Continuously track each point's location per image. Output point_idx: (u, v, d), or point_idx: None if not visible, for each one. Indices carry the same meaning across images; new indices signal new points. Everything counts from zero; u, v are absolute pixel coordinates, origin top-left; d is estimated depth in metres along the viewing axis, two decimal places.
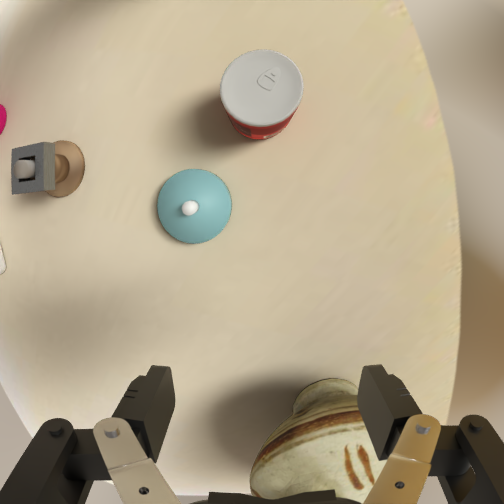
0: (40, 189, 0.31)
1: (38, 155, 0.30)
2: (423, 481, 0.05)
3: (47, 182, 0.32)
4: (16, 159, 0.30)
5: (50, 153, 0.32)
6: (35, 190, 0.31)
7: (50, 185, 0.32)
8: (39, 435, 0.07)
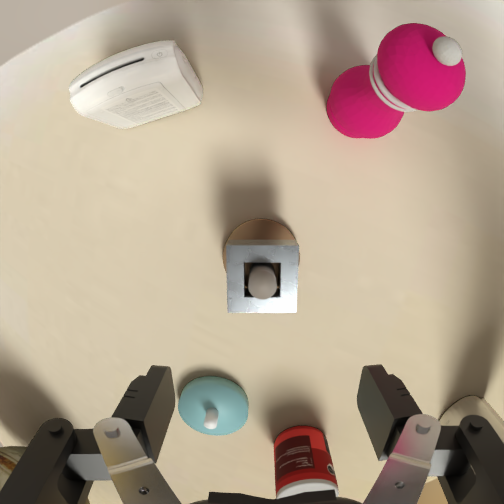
0: (229, 306, 0.27)
1: (278, 303, 0.27)
2: (423, 481, 0.05)
3: None
4: (280, 257, 0.26)
5: None
6: (228, 297, 0.27)
7: None
8: (39, 435, 0.07)
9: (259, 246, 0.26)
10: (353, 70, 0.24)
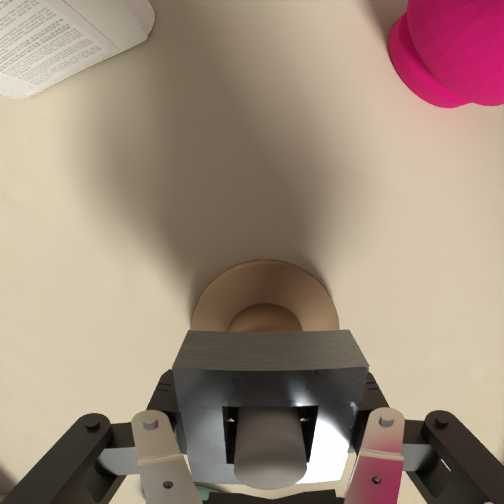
0: (196, 474, 0.10)
1: None
2: (399, 473, 0.06)
3: None
4: (318, 395, 0.09)
5: None
6: (192, 461, 0.10)
7: None
8: (74, 428, 0.08)
9: (263, 373, 0.09)
10: None
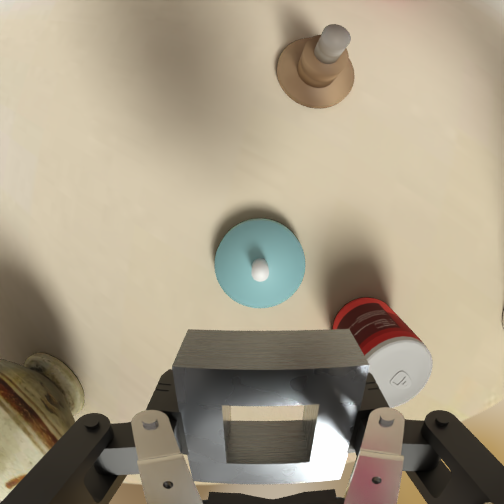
0: (196, 473, 0.10)
1: (304, 471, 0.10)
2: (399, 473, 0.06)
3: None
4: (318, 394, 0.09)
5: None
6: (192, 461, 0.10)
7: None
8: (74, 428, 0.08)
9: (263, 372, 0.09)
10: None
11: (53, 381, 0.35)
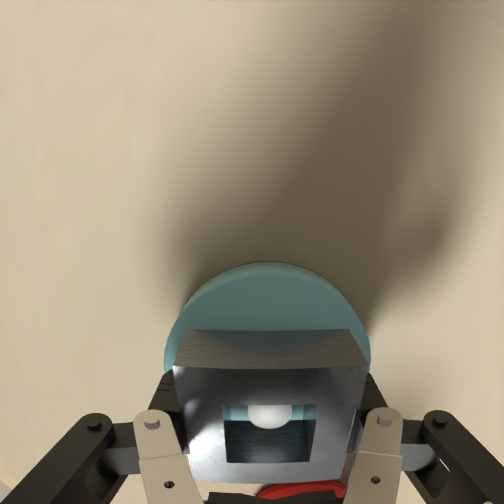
0: (196, 472, 0.10)
1: (304, 471, 0.10)
2: (398, 473, 0.06)
3: None
4: (318, 393, 0.09)
5: None
6: (192, 460, 0.10)
7: None
8: (76, 428, 0.08)
9: (263, 371, 0.09)
10: None
11: None
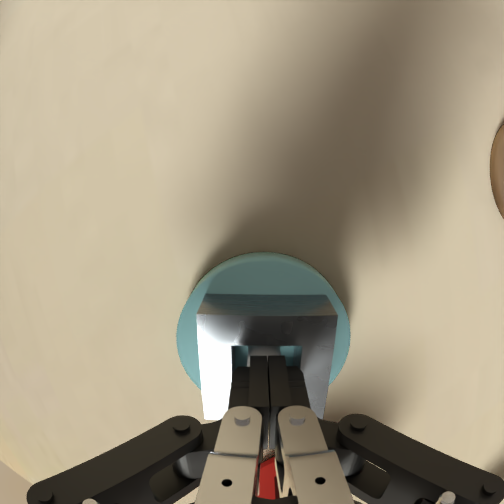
0: (207, 411, 0.14)
1: None
2: (339, 468, 0.06)
3: None
4: (301, 337, 0.13)
5: None
6: (205, 398, 0.14)
7: None
8: (161, 427, 0.08)
9: (261, 317, 0.13)
10: None
11: None
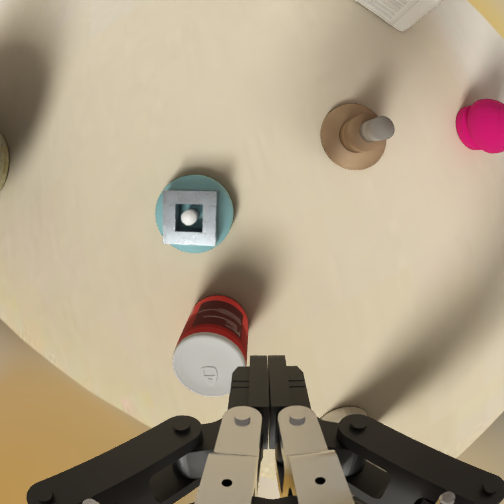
0: (164, 238, 0.34)
1: (201, 237, 0.34)
2: (339, 468, 0.06)
3: None
4: (202, 200, 0.33)
5: None
6: (164, 231, 0.34)
7: None
8: (161, 427, 0.08)
9: (186, 191, 0.33)
10: None
11: None
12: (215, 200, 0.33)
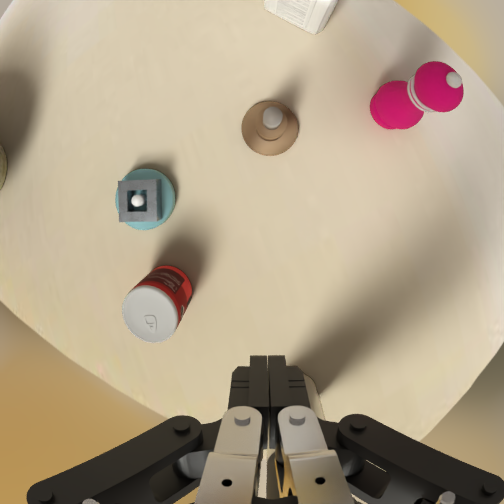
0: (120, 217, 0.43)
1: (146, 215, 0.43)
2: (339, 468, 0.06)
3: None
4: (146, 186, 0.42)
5: None
6: (119, 212, 0.43)
7: None
8: (161, 427, 0.08)
9: (134, 180, 0.42)
10: None
11: None
12: (155, 186, 0.42)
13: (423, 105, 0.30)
